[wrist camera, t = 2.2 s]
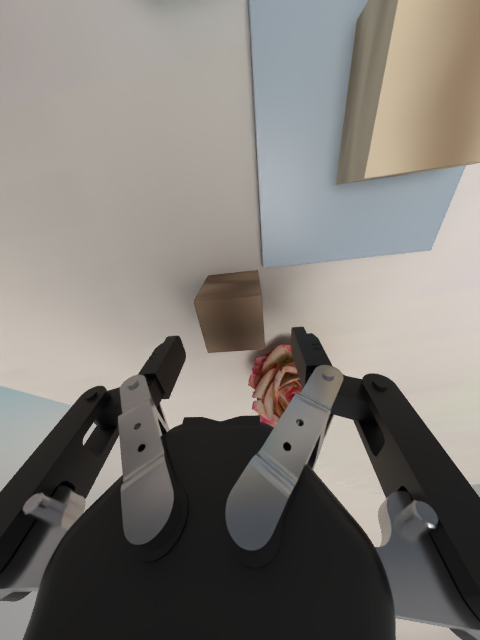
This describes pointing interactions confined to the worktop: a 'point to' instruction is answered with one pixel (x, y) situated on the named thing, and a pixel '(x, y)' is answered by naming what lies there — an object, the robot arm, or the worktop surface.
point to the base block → (412, 90)
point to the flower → (274, 384)
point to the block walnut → (231, 312)
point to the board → (325, 146)
